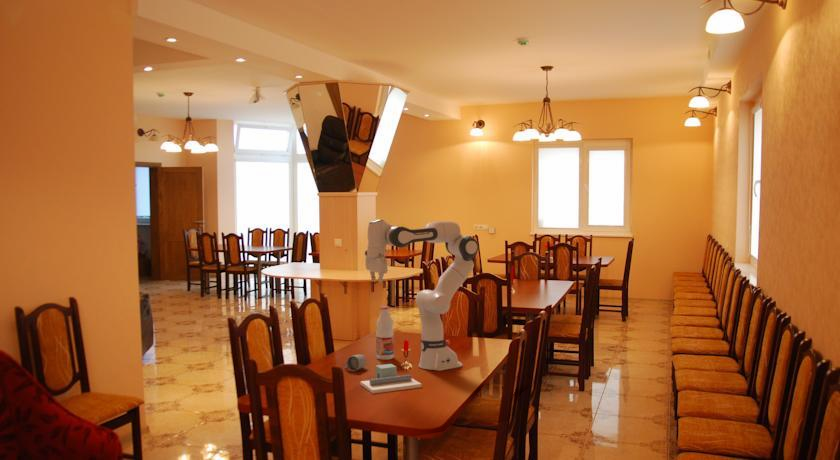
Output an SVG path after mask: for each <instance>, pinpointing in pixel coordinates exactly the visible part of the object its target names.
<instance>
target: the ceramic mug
mask: <svg viewBox="0 0 840 460" xmlns="http://www.w3.org/2000/svg"><path fill="white" fill-rule="evenodd" d="M365 366H367V359H366V357H365V355H364V354H354V355H351V356H349V357H348V358H347V359H346V364H345V365H344V366H343V367H344V369H347V370H349V371H351V372H357V371H359V370H361V369H364V368H365Z"/></svg>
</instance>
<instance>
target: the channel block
mask: <svg viewBox="0 0 840 460" xmlns="http://www.w3.org/2000/svg"><path fill="white" fill-rule="evenodd" d="M397 369H398V368H397V366H396V365H394V364H393V363H387V364H386V363H385V364H378V365H375V378H383V377H392V376H398V375H397V374H398V373H397V372H398V371H397Z"/></svg>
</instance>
